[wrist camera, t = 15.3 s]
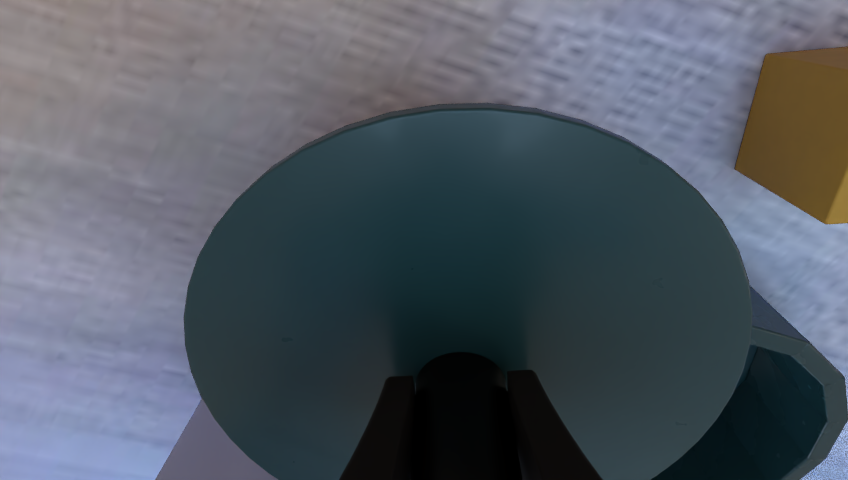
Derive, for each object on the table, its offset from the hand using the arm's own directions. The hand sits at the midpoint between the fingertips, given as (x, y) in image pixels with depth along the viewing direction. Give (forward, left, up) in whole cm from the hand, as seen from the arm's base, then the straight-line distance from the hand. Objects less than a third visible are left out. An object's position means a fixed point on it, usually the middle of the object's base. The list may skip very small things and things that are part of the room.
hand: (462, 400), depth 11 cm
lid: (0, 0, -1) cm, 1 cm away
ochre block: (+14, +4, -10) cm, 18 cm away
